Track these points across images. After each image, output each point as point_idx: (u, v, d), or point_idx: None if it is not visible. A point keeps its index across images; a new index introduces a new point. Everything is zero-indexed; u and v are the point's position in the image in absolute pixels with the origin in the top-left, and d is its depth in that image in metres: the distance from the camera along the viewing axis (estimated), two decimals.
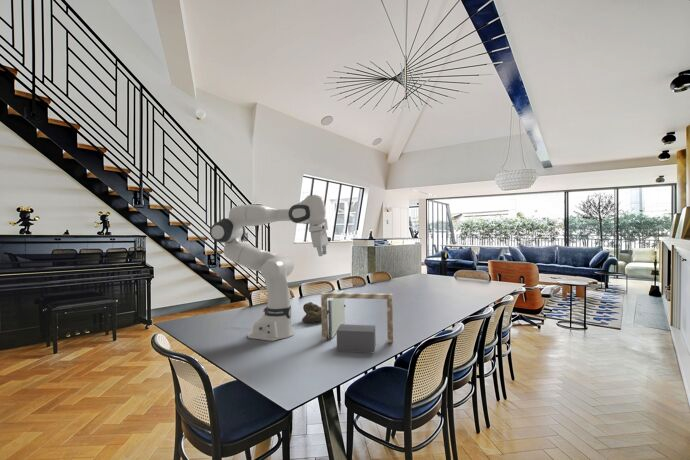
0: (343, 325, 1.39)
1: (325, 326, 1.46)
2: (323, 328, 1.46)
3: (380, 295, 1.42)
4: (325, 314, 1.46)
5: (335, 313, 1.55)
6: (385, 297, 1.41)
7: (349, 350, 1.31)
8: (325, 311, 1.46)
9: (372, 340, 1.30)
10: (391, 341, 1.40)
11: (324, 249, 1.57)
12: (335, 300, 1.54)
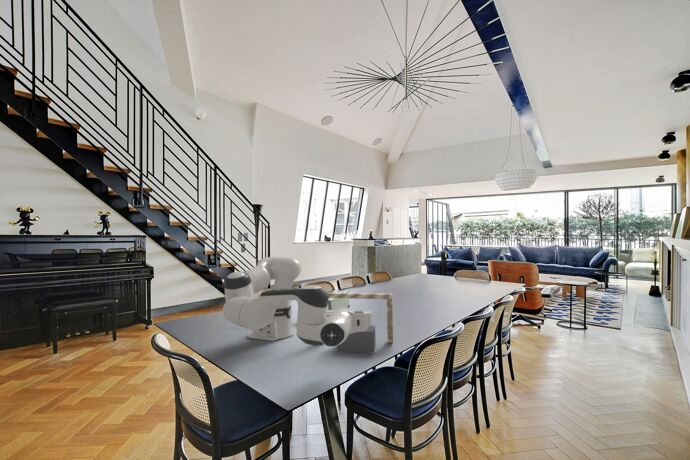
0: None
1: None
2: None
3: (380, 295, 1.42)
4: None
5: None
6: (385, 297, 1.41)
7: (349, 350, 1.31)
8: None
9: (372, 340, 1.30)
10: (391, 341, 1.40)
11: None
12: (337, 300, 1.54)
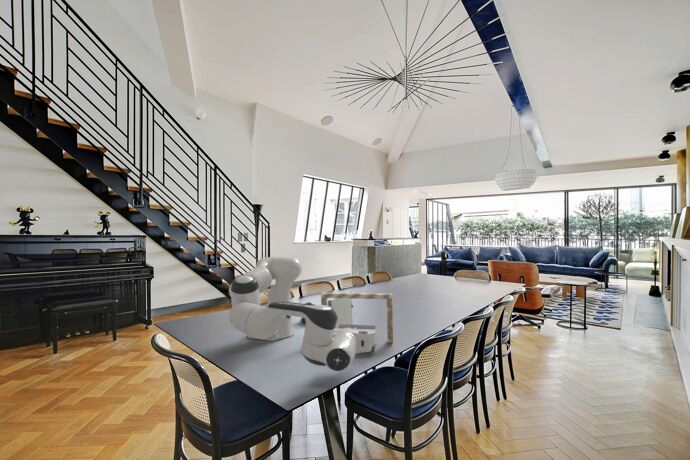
0: (343, 325, 1.39)
1: None
2: None
3: (380, 295, 1.42)
4: None
5: (338, 313, 1.54)
6: (385, 297, 1.41)
7: None
8: None
9: None
10: (391, 341, 1.40)
11: None
12: (338, 300, 1.54)
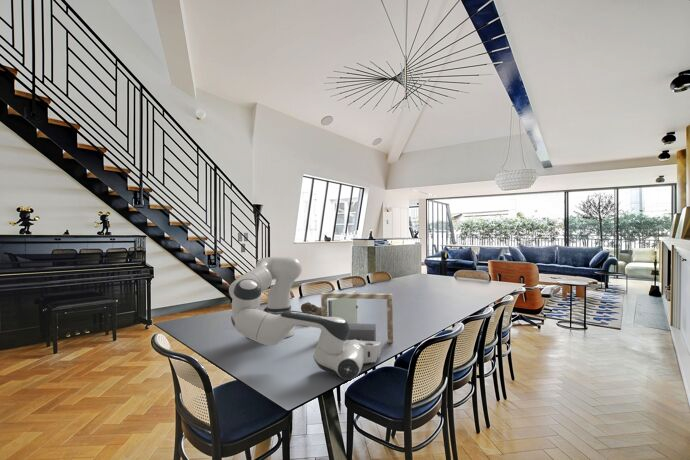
0: None
1: None
2: None
3: (380, 295, 1.42)
4: (325, 314, 1.46)
5: (340, 313, 1.54)
6: (385, 297, 1.41)
7: None
8: (325, 311, 1.46)
9: (373, 338, 1.31)
10: (391, 341, 1.40)
11: None
12: (339, 300, 1.53)
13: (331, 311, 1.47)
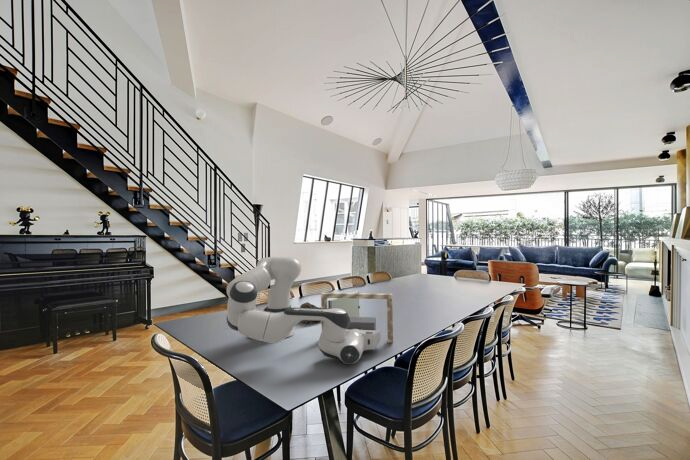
0: None
1: None
2: None
3: (380, 295, 1.42)
4: None
5: None
6: (385, 297, 1.41)
7: None
8: None
9: None
10: (391, 341, 1.40)
11: None
12: (340, 300, 1.53)
13: None
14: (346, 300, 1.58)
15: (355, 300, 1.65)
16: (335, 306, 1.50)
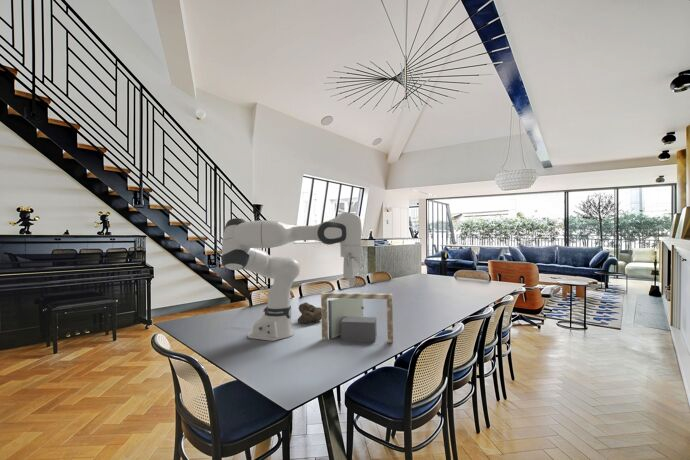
0: (347, 317, 1.52)
1: (325, 326, 1.46)
2: (323, 328, 1.46)
3: (380, 295, 1.42)
4: (325, 314, 1.46)
5: (342, 314, 1.53)
6: (385, 297, 1.41)
7: (352, 339, 1.44)
8: (325, 311, 1.46)
9: (373, 330, 1.43)
10: (391, 341, 1.40)
11: None
12: (341, 301, 1.53)
13: (331, 311, 1.47)
14: (348, 300, 1.57)
15: (358, 300, 1.64)
16: (336, 306, 1.49)
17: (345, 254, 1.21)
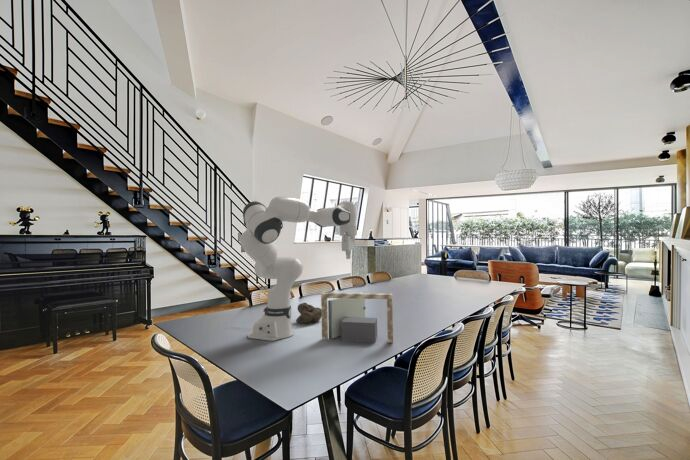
0: (347, 317, 1.52)
1: (325, 326, 1.46)
2: (323, 328, 1.46)
3: (380, 295, 1.42)
4: (325, 314, 1.46)
5: (342, 314, 1.53)
6: (385, 297, 1.41)
7: (352, 339, 1.44)
8: (325, 311, 1.46)
9: (373, 331, 1.42)
10: (391, 341, 1.40)
11: None
12: (341, 301, 1.52)
13: (331, 311, 1.47)
14: (349, 300, 1.57)
15: (360, 301, 1.63)
16: (336, 306, 1.49)
17: (343, 233, 1.58)
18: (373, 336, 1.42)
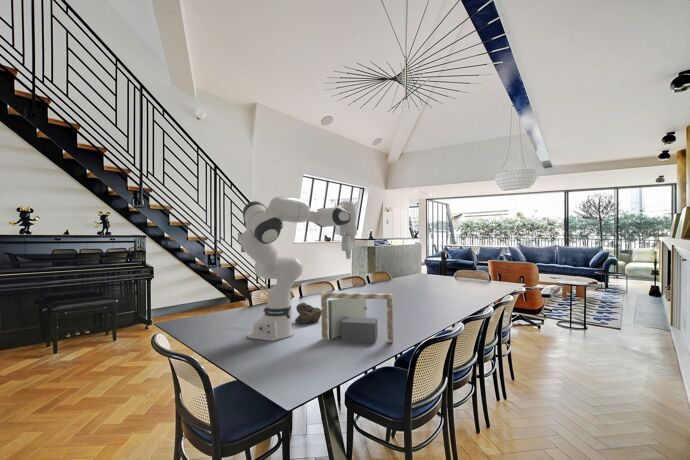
0: (348, 317, 1.51)
1: (325, 326, 1.46)
2: (323, 328, 1.46)
3: (380, 295, 1.42)
4: (325, 314, 1.46)
5: (343, 314, 1.52)
6: (385, 297, 1.41)
7: (352, 340, 1.44)
8: (325, 311, 1.46)
9: (373, 331, 1.41)
10: (391, 341, 1.40)
11: None
12: (342, 301, 1.52)
13: (331, 311, 1.47)
14: (350, 301, 1.56)
15: (361, 301, 1.63)
16: (336, 306, 1.49)
17: (343, 233, 1.58)
18: (373, 336, 1.41)
